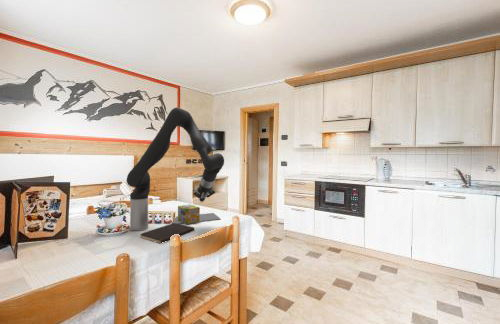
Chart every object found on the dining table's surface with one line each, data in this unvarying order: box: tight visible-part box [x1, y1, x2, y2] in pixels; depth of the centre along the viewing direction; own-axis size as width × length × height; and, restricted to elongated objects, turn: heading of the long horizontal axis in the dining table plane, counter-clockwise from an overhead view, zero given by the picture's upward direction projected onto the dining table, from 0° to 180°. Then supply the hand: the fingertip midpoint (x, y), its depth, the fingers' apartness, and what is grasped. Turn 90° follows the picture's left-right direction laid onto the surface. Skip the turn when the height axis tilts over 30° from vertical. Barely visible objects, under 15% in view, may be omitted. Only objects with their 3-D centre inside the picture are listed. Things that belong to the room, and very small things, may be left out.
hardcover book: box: [139, 223, 195, 244], centre depth 131 cm, size 16×23×2 cm
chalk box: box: [177, 204, 201, 225], centre depth 154 cm, size 9×9×15 cm
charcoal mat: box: [171, 212, 222, 225], centre depth 159 cm, size 30×16×1 cm, turn 115°
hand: (201, 200), depth 144 cm, fingers closed
